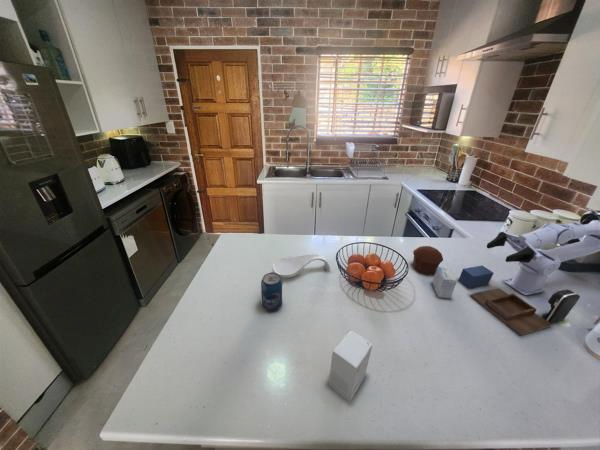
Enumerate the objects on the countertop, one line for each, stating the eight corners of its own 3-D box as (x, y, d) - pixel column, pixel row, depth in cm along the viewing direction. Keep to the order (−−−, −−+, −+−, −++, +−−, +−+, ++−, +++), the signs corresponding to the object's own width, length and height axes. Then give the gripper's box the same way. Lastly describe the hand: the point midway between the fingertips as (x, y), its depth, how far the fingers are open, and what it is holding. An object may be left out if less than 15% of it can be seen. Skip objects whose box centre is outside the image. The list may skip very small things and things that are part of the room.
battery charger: (551, 311, 87) (569, 286, 82) (564, 320, 84) (583, 294, 79) (536, 314, 86) (553, 289, 80) (548, 323, 82) (566, 297, 77)
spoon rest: (274, 284, 95) (274, 269, 92) (270, 266, 105) (270, 252, 102) (332, 276, 100) (334, 262, 97) (323, 260, 110) (324, 246, 107)
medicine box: (450, 299, 91) (457, 280, 87) (437, 297, 92) (444, 278, 88) (443, 285, 98) (450, 267, 94) (431, 283, 99) (437, 265, 95)
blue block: (477, 277, 103) (482, 265, 101) (488, 284, 99) (493, 272, 96) (458, 280, 101) (462, 268, 98) (468, 288, 97) (473, 276, 94)
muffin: (434, 262, 112) (440, 243, 107) (442, 277, 102) (450, 257, 97) (407, 259, 113) (412, 240, 109) (412, 274, 104) (418, 254, 99)
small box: (344, 361, 68) (350, 328, 62) (365, 377, 64) (373, 343, 58) (327, 384, 62) (332, 350, 56) (349, 402, 59) (357, 368, 53)
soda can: (262, 314, 82) (260, 286, 76) (261, 299, 88) (260, 272, 82) (283, 312, 83) (283, 284, 77) (281, 297, 89) (281, 270, 83)
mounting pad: (498, 290, 96) (501, 284, 95) (550, 326, 81) (555, 320, 80) (470, 296, 93) (473, 290, 91) (519, 335, 77) (523, 329, 76)
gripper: (516, 220, 91) (482, 232, 90) (558, 244, 79) (519, 257, 78) (511, 235, 95) (478, 246, 94) (550, 260, 83) (513, 272, 82)
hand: (496, 252), depth 86 cm, fingers open, 7 cm apart
